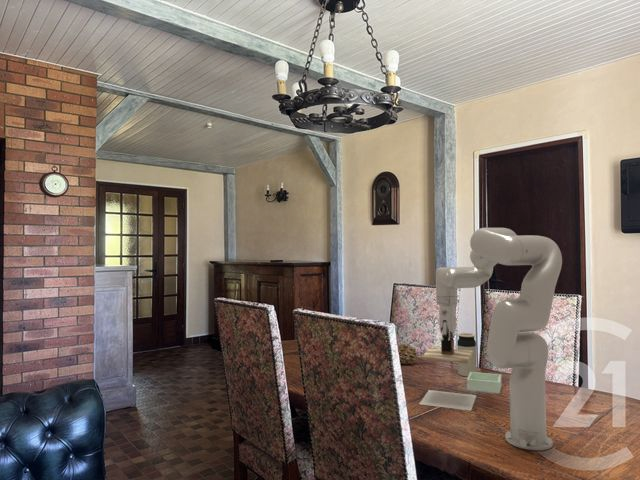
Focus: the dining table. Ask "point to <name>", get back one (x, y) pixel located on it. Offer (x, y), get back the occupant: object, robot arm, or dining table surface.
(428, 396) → the mat
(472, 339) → the travel mug
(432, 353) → the lid
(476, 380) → the dish
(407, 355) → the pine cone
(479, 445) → the dining table surface
